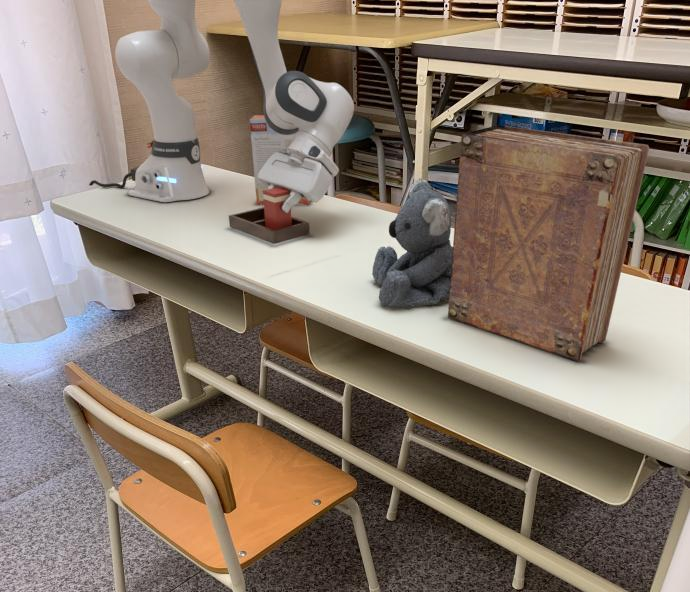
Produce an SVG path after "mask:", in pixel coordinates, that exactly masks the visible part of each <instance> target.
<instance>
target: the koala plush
mask: <svg viewBox="0 0 690 592" xmlns="http://www.w3.org/2000/svg"><path fill="white" fill-rule="evenodd" d="M410 184H411V185H410V188H409V190H408V199H406V201H405V202H404V204H403V205H402V206H401V207H400V209H399V211H398V213H397V215H396V217H395V219H393V220H392V221H391V222H389V225H388V234H389V236H390V237H391V238H393V239H395V240H396V241H397V243H398V244H399V246H401V248H402V249H403V250H405V251H406V252H405V253H404V254H402V255H401V256H400V257H399V258H398V253H397V252H396V249H395V248H393V247H391V246H389V245H388V246H387V247H386V246H381V247H379V248H378V249H377V251H376V254H375V256H374V262H373V265H372V272H371V275H372V278H373V280H374V281H375V282H377V285H380V286H381V288H380V289H379V293H378V301H379V302H380V304H381V305H382V306H384V307H389V308H399V309H400V308H411V307H416V306H435V305H436V304H438V303H439V302H440V301H446V300H449V295H450V282H451V268H452V255H453V245H451V240H450V237H451V232H452V214H451V207H450V204H449V203H448V201H447V199H445V197H444V195H442V194H441V193H439V192H438V191H436V190H433V188H432V186H431V185H430V183H429V182H428V181H427V180H425V179H423V177H421V178H418V180H414V181H413V183H410Z"/></svg>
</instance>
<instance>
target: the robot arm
mask: <svg viewBox="0 0 690 592" xmlns="http://www.w3.org/2000/svg"><path fill="white" fill-rule="evenodd" d="M233 1H234V5H235V7H236V9H237V11H238V15H239V17H240V20H241V23H242V25H243V28H244V31H245V34H246V36H247V39H248V42H249V46H250V49H251V52H252V55H253V59H254V62H255V67H256V70H257V72H258V76H259V80H260V83H261V87H262V90H263V91H262V92H263V103H262V104H263V105H262V108H263V109H262V110H263V111H262V112H263V115H264V117H265V120H266V122H267V124H268V125H269V126H270V128H271V129H273V130H274V131H275V132H277V133H279V134H283V135H291V134H294V133H296V132H297V134H296V136H295V137H294V139H293V140H292V142H291V144H290V145H289V147H288V149H287V150H285V149H282V150H281V151H278V152H276V153H274V154H273V155H272V156H271V157H270V158H269V159H268V160H267V162H266V163H265V164H264V166H263V167H262V169H261V170H260V172H259V174H258V179H259V180H260V181H261V183H263V184H264V185H265V186H266V187H268V189H272V188H276V187H280V188H283V189H286V190H289V191H290V195H291V196H290V197H289V198H288V199H287V200H286V201H283V202H282V203H281V205H280V209H281V210H282V211H283V212H286V213H288V212H289V210H290V208H291V209H292V208H293V207H294V206H296V205H297V204H299V203H298V202H299V201H300V199H301V198H304V199H307V200H310V202H313V203H318V202H319V201H321V200H322V199H323V198H324V196H325V195H326V193H327V191H328V189H329V188H330V187H331V185H332V183H333V178H334V177H336V176H337V174H338V173H339V172H340V169H339V167H338V166H337V164H336V163H335V162H334V161H333V159H332V158H331V155H332V153H333V150H334V147H335V146H336V144H337V143H339V142H340V141H341V139H342V138H343V136H344V134H345V133H346V130H347V129H348V127H349V125H350V123H351V121H352V118H353V117H354V112H355V104H354V101H353V98H352V96H351V94H350V93H349V91H348V90H347V89H346V88H345V87H344V86H342V85H341V84H339V83H337V82H325V81H320V80H317V79H314V78H312V77H310V76H308V75H307V74H306V73H304V72H302V71H299V70H289V71H287V67H286V64H285V60H284V56H283V53H282V50H281V47H280V40H279V20H280V12H281V7H282V1H283V0H233ZM147 2H148V4H149V6H150V8H151V9H152V10H153V12H154V13H155V14H157V15H158V16H159V17H160V20H161V21H160V27H159V29H153V30H151V29H150V30H140V31H139V30H138V31H134V32H131V33H129V34H126V35H124V36H121V37H120V38H119V39H118V40H117V43H116V45H115V53H114V54H115V61H116V64H117V68H118V69H119V71H120V72H121V74H122V75H123V77H124V78H125V79H126V80H128V81H130V83H132V84H133V85H134V86H135V87H136V88H137V90H138V91H139V92H140V93H141V96H142V97H143V99H144V101H145V103H146V105H147V110H148V113H149V116H150V117H149V118H150V121H151V127H152V132H153V138H154V139H153V140H152V141H151V142H147V143H146V145H148V146H147V147H146V148H147V149H150V148H151V151H150V155H149V156H148V157H147V158H146V159H145V161H144V162H142V164H140V165H139V166H136V167H134V168H131V169H130V172H129V173H126V175H124V176H123V179H122V184H120V183H116V182H113V183H101V182H99V181H98V180H95V179H94V180H91V181H90V182H89V184H88V186H90V187H91V186H93V185H94V184H95V185H97V186H99V187H101V188H113V187H118V188H120V189H123V188H125V186H126V184H127V179H129V178H130V177H131V181H132V182H135V183H134V184H135V186H133V187H131V188H130V189H129V190H128V196H131V197H136V198H140V199H146V200H149V201H155V202H159V203H171V202H176V201H188V200H194V199H199V198H204V197H206V196H207V195H209V193H210V190H209V188H208V185H207V181H206V179H205V175H204V172H203V165H202V163H201V149H200V147H201V146H200V141H199V137H197V129H196V122H195V121H196V120H195V114H194V108H193V106H192V104H191V103H190V102H189V101H188V100H187V99H186V98H184V97H182V96H180V95H179V94H178V92H177V90H176V88H175V85H174V81H175V80H180V79H188V78H193V77H195V76H197V75H199V74H201V73H204V72H205V71H206V70H207V68H208V67H209V64H210V58H211V55H210V53H211V51H210V48H209V47H210V46H209V44H208V42H207V40H206V38H205V37H204V35H203V34H202V33H201V32H200V30H199V29H198V25H197V21H196V13H195V11H196V0H147ZM173 80H174V81H173Z"/></svg>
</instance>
